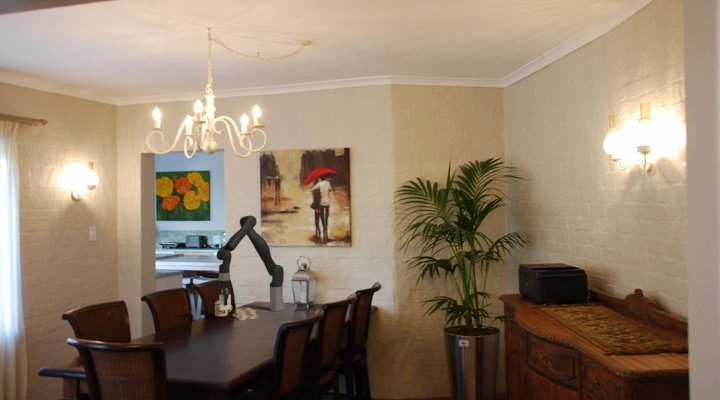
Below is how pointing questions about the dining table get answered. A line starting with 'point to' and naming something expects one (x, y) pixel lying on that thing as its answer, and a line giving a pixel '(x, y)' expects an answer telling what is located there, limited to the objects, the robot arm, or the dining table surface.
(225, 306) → the tile
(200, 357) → the dining table surface
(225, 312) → the teacup with lid
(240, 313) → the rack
